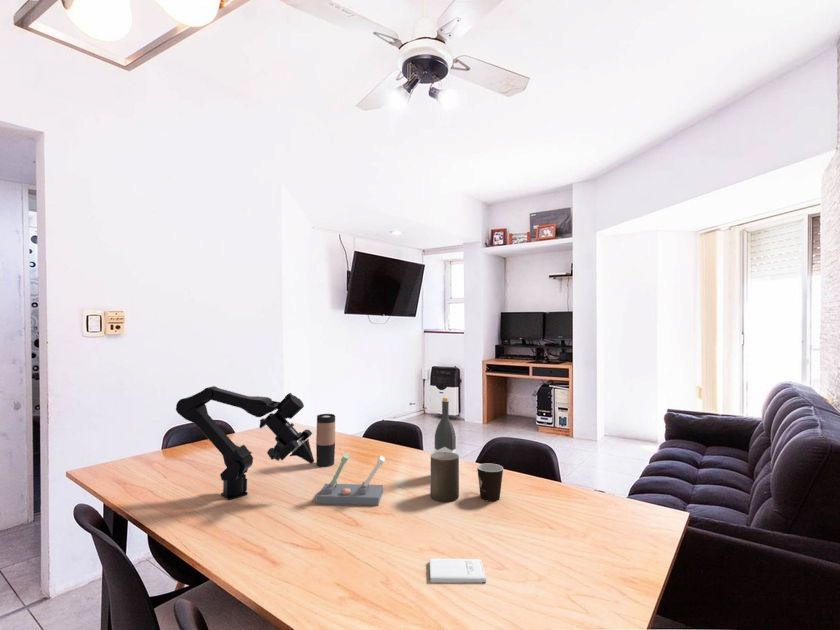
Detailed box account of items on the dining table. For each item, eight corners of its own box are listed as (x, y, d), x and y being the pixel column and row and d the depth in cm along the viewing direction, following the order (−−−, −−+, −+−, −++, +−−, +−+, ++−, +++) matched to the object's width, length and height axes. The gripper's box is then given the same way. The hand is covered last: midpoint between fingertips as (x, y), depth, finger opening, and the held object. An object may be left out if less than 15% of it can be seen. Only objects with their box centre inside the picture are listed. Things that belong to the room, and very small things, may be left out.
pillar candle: (457, 503, 137) (457, 456, 137) (427, 500, 139) (428, 454, 139) (460, 492, 146) (460, 448, 147) (432, 489, 148) (433, 446, 149)
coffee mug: (503, 504, 137) (503, 472, 137) (476, 501, 139) (476, 470, 139) (503, 490, 148) (503, 461, 149) (478, 488, 150) (478, 460, 150)
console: (316, 503, 136) (316, 490, 136) (325, 490, 147) (325, 478, 147) (378, 505, 135) (378, 492, 135) (382, 492, 146) (382, 479, 146)
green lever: (325, 489, 139) (342, 456, 139) (329, 485, 143) (345, 452, 143) (331, 492, 139) (347, 459, 139) (334, 487, 143) (350, 455, 143)
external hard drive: (429, 564, 102) (480, 564, 103) (430, 584, 94) (486, 585, 94) (429, 557, 103) (480, 557, 103) (430, 577, 94) (486, 577, 94)
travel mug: (311, 465, 174) (312, 416, 174) (324, 460, 180) (325, 413, 181) (326, 468, 170) (327, 418, 171) (338, 463, 177) (339, 414, 178)
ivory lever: (358, 490, 138) (378, 458, 139) (361, 485, 143) (380, 454, 143) (364, 493, 138) (384, 462, 138) (366, 488, 143) (385, 458, 143)
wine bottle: (455, 473, 165) (456, 396, 166) (455, 480, 157) (455, 399, 158) (435, 472, 166) (435, 395, 167) (433, 479, 158) (434, 399, 159)
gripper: (275, 437, 152) (304, 469, 151) (252, 452, 133) (285, 489, 132) (297, 416, 152) (326, 448, 151) (277, 428, 133) (311, 465, 132)
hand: (312, 462), depth 142 cm, fingers closed
